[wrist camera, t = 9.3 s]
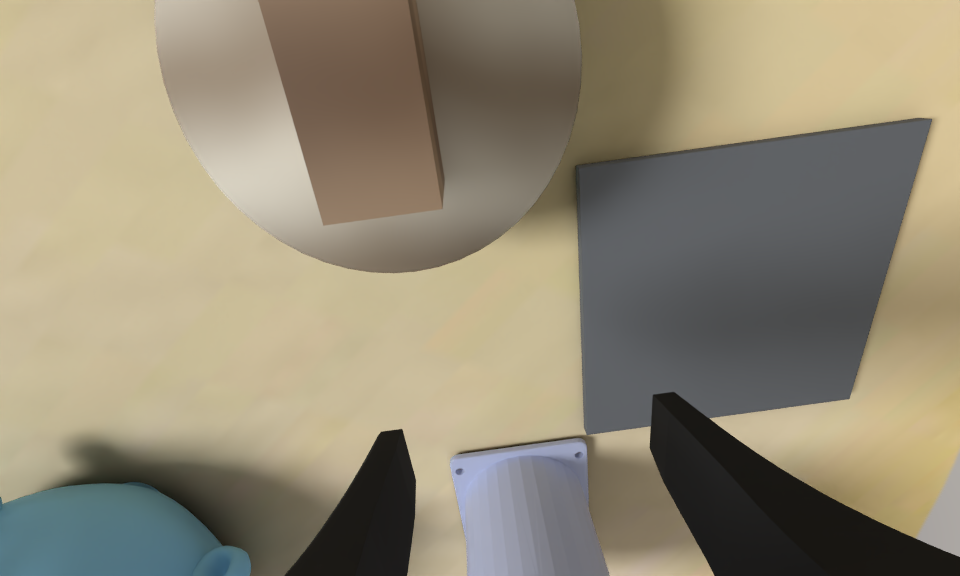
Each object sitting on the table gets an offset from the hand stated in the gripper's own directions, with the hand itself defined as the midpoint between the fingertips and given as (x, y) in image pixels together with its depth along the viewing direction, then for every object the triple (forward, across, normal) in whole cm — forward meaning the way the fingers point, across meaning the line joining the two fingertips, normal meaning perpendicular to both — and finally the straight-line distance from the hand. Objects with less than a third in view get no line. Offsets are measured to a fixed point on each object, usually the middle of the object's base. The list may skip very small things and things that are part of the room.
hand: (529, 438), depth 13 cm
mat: (+10, -12, +2) cm, 15 cm away
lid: (+6, +3, -10) cm, 12 cm away
